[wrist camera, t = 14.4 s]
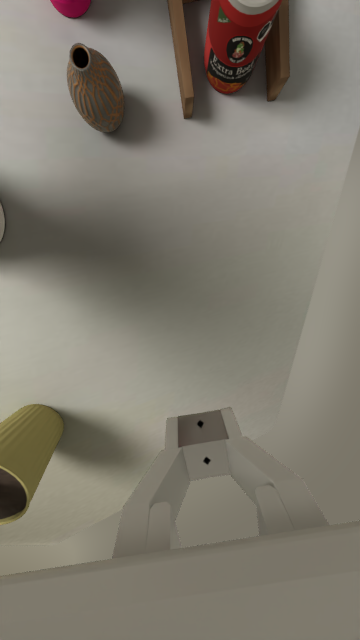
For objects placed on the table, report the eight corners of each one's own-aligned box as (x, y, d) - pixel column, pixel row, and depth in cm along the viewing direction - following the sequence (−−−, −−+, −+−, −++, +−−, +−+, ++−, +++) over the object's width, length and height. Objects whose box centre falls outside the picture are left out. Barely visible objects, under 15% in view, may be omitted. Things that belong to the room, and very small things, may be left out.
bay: (184, 118, 31) (185, 98, 27) (166, -6, 27) (165, -50, 23) (275, 99, 30) (289, 76, 27) (270, -29, 26) (287, -78, 23)
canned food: (200, 93, 30) (214, 1, 19) (206, 21, 28) (225, -127, 17) (249, 99, 30) (289, 12, 20) (258, 28, 28) (309, -112, 18)
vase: (90, 75, 29) (56, -2, 21) (134, 99, 30) (119, 35, 22) (78, 127, 31) (42, 77, 22) (120, 149, 32) (101, 108, 23)
